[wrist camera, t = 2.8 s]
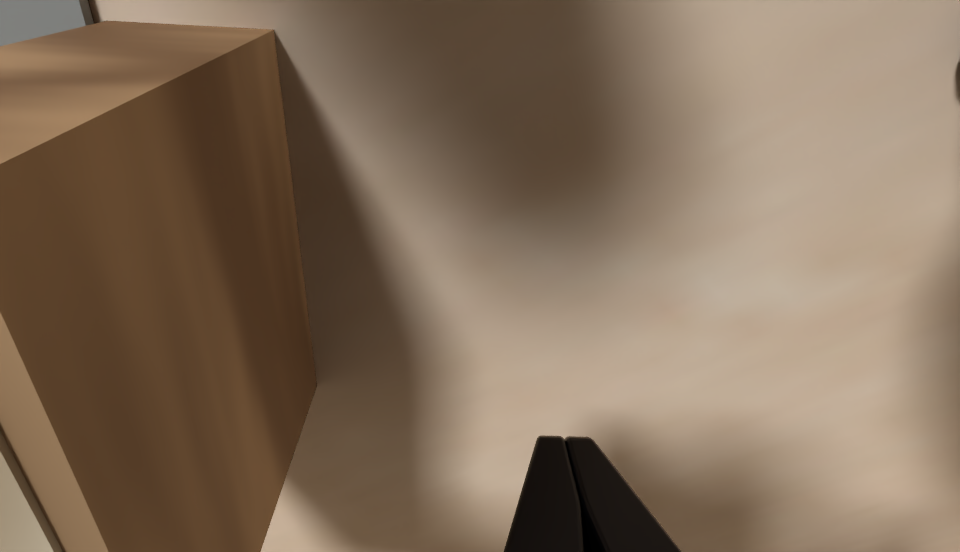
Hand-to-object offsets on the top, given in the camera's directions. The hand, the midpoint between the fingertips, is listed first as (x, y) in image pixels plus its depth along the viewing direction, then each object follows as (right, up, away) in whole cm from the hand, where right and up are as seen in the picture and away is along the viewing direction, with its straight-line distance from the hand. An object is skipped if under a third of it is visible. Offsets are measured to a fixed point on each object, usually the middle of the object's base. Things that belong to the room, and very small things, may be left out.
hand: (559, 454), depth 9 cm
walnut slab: (-8, +4, +6) cm, 10 cm away
